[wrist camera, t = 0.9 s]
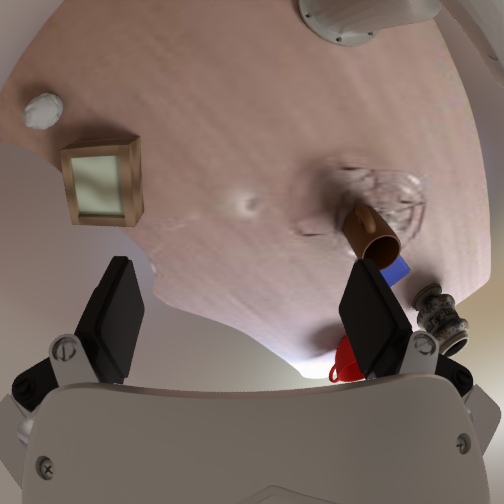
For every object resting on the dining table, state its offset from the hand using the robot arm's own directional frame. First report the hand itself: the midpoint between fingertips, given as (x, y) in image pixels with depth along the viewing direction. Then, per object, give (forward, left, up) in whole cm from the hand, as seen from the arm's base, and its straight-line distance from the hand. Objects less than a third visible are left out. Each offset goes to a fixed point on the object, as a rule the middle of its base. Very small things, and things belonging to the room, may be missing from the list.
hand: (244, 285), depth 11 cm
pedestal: (+7, -21, -32) cm, 39 cm away
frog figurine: (-6, -31, -32) cm, 45 cm away
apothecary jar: (+32, +53, -32) cm, 70 cm away
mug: (+11, +22, -32) cm, 41 cm away
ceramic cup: (+50, +34, -32) cm, 69 cm away
